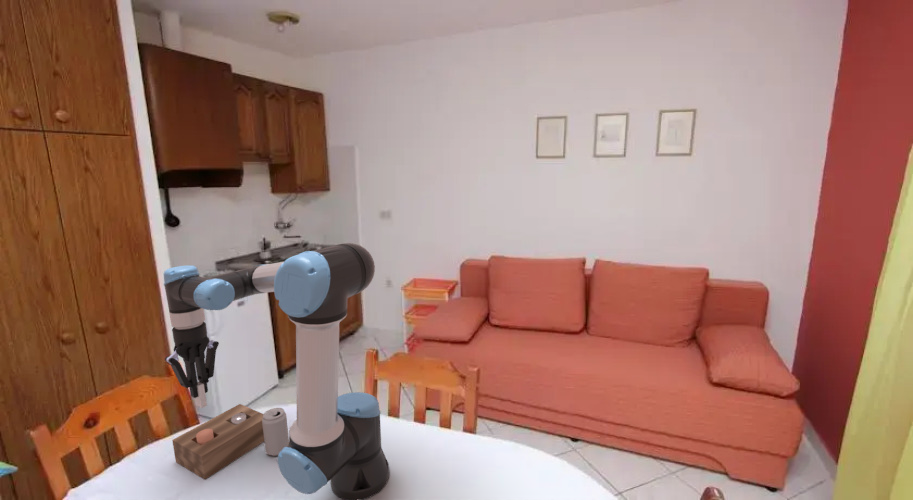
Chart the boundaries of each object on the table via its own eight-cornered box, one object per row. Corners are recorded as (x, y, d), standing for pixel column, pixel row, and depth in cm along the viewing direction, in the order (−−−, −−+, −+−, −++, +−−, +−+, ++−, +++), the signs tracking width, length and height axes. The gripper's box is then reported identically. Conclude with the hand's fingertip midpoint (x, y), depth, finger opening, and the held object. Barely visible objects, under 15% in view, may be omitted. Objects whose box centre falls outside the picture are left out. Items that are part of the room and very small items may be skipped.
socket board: (270, 436, 125) (268, 416, 124) (204, 479, 108) (201, 456, 106) (242, 423, 132) (239, 403, 130) (175, 462, 114) (172, 439, 113)
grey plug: (251, 432, 124) (248, 415, 123) (238, 440, 121) (236, 422, 120) (242, 429, 126) (240, 411, 125) (230, 436, 123) (228, 418, 122)
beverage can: (280, 458, 115) (276, 420, 113) (260, 455, 117) (256, 418, 114) (293, 444, 121) (290, 407, 119) (274, 441, 123) (270, 405, 120)
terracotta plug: (218, 450, 116) (215, 431, 115) (204, 458, 112) (201, 439, 111) (210, 445, 118) (207, 427, 116) (195, 454, 114) (193, 435, 113)
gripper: (205, 314, 115) (216, 391, 119) (153, 330, 104) (168, 414, 108) (221, 318, 111) (232, 397, 116) (169, 335, 100) (184, 422, 104)
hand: (201, 405), depth 112 cm, fingers closed
